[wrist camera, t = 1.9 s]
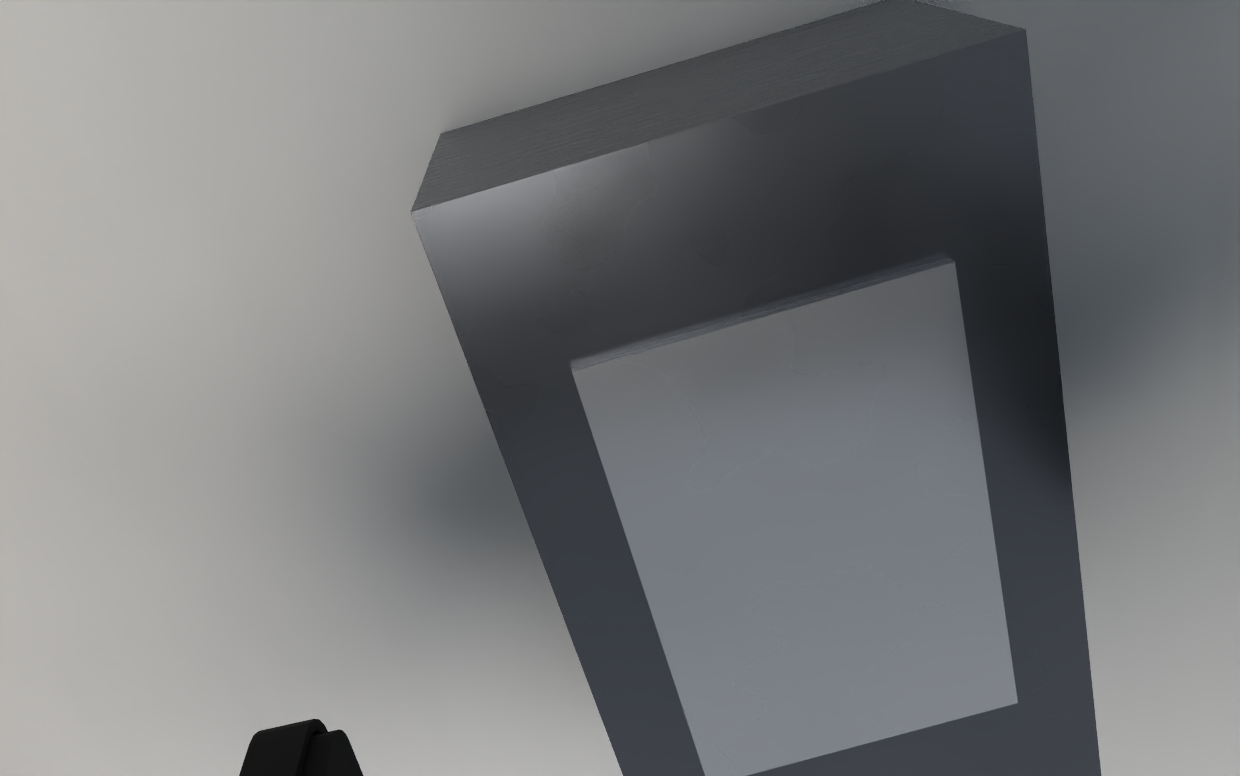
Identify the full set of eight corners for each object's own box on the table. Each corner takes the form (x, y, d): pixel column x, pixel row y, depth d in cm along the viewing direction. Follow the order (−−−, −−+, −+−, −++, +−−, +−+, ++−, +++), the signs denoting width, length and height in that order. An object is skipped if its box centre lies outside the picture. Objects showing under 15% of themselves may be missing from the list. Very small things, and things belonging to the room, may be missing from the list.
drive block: (890, -6, 13) (1031, 31, 10) (984, 603, 18) (1108, 794, 14) (442, 129, 14) (409, 216, 10) (641, 697, 18) (671, 908, 14)
